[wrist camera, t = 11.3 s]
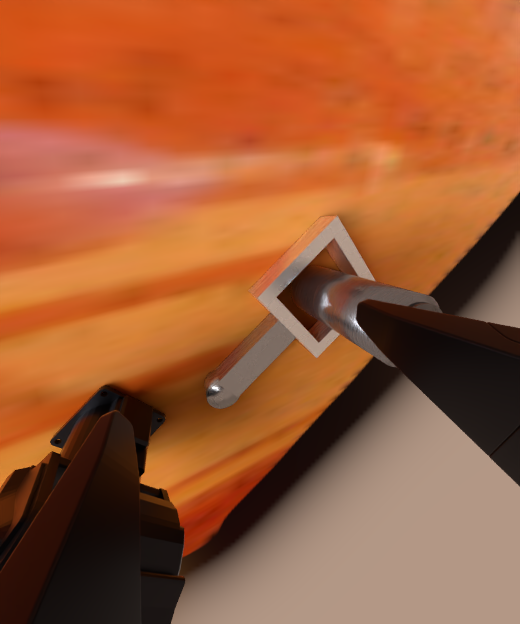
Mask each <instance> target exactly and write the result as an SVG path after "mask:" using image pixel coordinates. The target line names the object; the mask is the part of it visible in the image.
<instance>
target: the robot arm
mask: <svg viewBox="0 0 520 624" xmlns="http://www.w3.org/2000/svg"><path fill="white" fill-rule="evenodd" d="M356 321H357V323H358V325H359V326H360V327H361V328H362V330H363V331H364V332H365V333H366V334H367V336H368V337H369V338H370V339H371V340H372V341H373V343H374V344H375V345H376V346H377V347H378V349H379V350H380V351H381V352H382V353H383V354H384V355H385V356H386V357H387V358H388V359H389V360H390V361H391V362H392V363H393V364H394V365H395V366H396V367H397V368H398V369H399V370H400V371H401V372H402V373H403V374H404V375H405V376H406V377H408V378H409V379H410V380H411V381H412V382H413V383H414V384H415V385H416V386H417V387H418V388H419V389H420V390H421V391H422V392H423V393H424V394H425V395H426V396H427V397H428V398H429V399H430V400H431V401H432V402H433V403H434V404H435V405H436V406H438V408H440V409H441V410H442V411H443V412H444V413H445V414H446V415H447V416H448V417H449V418H450V419H451V420H452V421H453V422H454V423H455V424H456V425H457V426H458V427H459V428H460V429H461V430H462V431H463V432H465V434H466V435H467V436H468V437H469V438H471V439H472V440H473V441H474V442H475V443H476V444H477V445H478V446H479V447H480V448H481V449H482V450H483V451H484V452H485V453H486V454H487V455H489V457H490V458H491V459H492V460H493V461H494V462H495V463H496V464H497V465H498V466H499V467H500V468H501V469H502V470H504V472H505V473H506V474H508V476H510V477H511V478H512V479H513V480H514V481H515V482H516V483H517V484H518V485H519V486H520V328H516V327H510V326H505V325H500V324H495V323H490V322H488V323H486V322H484V321H479V320H474V319H469V318H464V317H459V316H454V315H449V314H444V313H439V312H433V311H428V310H423V309H418V308H413V307H408V306H403V305H398V304H393V303H387V302H382V301H377V300H372V299H366V300H363V301H361V302H359V303H358V305H357V313H356ZM104 391H105V392H107V393H106V394H104V393H102V392H104ZM158 418H162V419H158ZM164 422H165V414H164V413H162V412H160V411H158V410H156V409H154V408H152V407H151V406H149V405H147V404H145V403H143V402H141V401H139V400H137V399H135V398H133V397H131V396H127V395H125V394H123V393H121V392H119V391H117V390H115V389H113V388H111V387H108V386H103V387H101V388H99V389H98V390H97V391H96V392H95V393H94V395H93V396H92V397H91V398H90V399H89V400H88V401H87V402H86V403H85V404H84V405H83V406H82V407H81V408H80V409H79V410H78V411H77V412H76V413H75V414H74V415H73V416H72V417H71V418H70V419H69V420H68V421H67V422H66V423H65V424H64V425H63V426H62V427H61V429H60V430H59V431H58V432H57V433H56V434H55V435H54V436H53V438H52V439H51V441H50V443H51V445H53V446H56V447H59V448H62V451H61V453H60V454H58V453H55V452H53V451H52V452H51V453H50V454H48V455H47V456H46V457H45V458H44V459H43V460H42V461H41V462H40V463H39V464H38V465H37V466H34V465H32V466H31V467H28V468H23V469H18V470H15V471H14V472H13V473H12V474H11V475H9V476H8V477H7V479H6V480H5V482H4V483H3V485H2V486H1V488H0V624H171V620H172V617H173V614H174V610H175V607H176V604H177V602H178V599H179V597H180V594H181V592H182V589H183V587H184V584H185V578H184V577H182V576H178V575H179V571H180V566H181V560H182V554H183V548H184V528H183V527H181V526H180V522H179V518H178V513H177V509H176V508H175V507H174V505H173V504H172V502H170V500H169V497H168V493H167V491H166V490H164V489H161V488H160V489H156V488H153V487H150V486H147V485H144V484H141V483H140V482H141V475H142V474H143V473H144V472H145V464H146V455H147V447H148V446H149V441H150V436H151V435H152V434H153V433H154V432H155V431H156V430H157V429H158V428H159V427H160V426H161V425H162V424H163V423H164ZM57 439H60V440H57Z"/></svg>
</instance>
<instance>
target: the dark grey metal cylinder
mask: <svg viewBox="0 0 520 624" xmlns="http://www.w3.org/2000/svg"><path fill="white" fill-rule="evenodd" d="M290 293H291V298H292V301H293V303H294V304H295V305H296V306H297V307H299V308H300V309H302V310H303V311H305V312H306V313H308V314H309V315H311V316H312V317H314V318H316V319H317V320H319V321H320V322H322V323H323V324H325V325H326V326H328V327H330V328H331V329H333V330H334V331H336V332H337V333H339V334H340V335H342V336H344V337H345V338H347V339H348V340H350V341H351V342H353V343H354V344H356V345H358V346H359V347H361V348H362V349H364V350H365V351H367V352H368V353H370V354H372V355H373V356H375V357H376V358H378V359H379V360H381V361H383V362H384V363H386V364H387V365H389V366H392V367H396V366H395V365H394V364H393V363H392V362H391V361H390V360H389V359H388V358H387V357H386V356H385V355H384V354H383V353H382V352H381V351H380V350H379V349H378V347H377V346H376V345H375V344H374V343H373V341H372V340H371V339H370V338H369V337H368V336H367V334H366V333H365V332H364V331H363V330H362V328H361V327H360V326H359V325H358V323H357V321H356V313H357V305H358V303H359V302H361V301H363V300H366V299H372V300H377V301H382V302H387V303H393V304H398V305H403V306H408V307H413V308H418V309H423V310H428V311H433V312H439V313H442V311H441V310H440V308H439V306H438V304H437V302H436V300H435V299H434V298H432V297H430V296H428V295H425V294H421V293H417V292H413V291H410V290H406V289H402V288H399V287H395V286H391V285H387V284H384V283H380V282H376V281H372V280H369V279H365V278H361V277H358V276H354V275H350V274H346V273H343V272H339V271H335V270H332V269H328V268H324V267H320V266H316V265H312V266H307V267H305V268H304V269H303V270H302V271H301V272H300V273H299V274H298V275H297V276H296V277H295V278H294V279H293V281H292V284H291V290H290Z"/></svg>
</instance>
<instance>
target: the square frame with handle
mask: <svg viewBox="0 0 520 624" xmlns="http://www.w3.org/2000/svg"><path fill="white" fill-rule="evenodd" d="M324 248H326V250H327V251H328V253H329V254H330V256H331V257H332V259H333V260H334V262H335V263H336V265H337V266H338V268H339V269H340V270H341V272H343V273H346V274H350V275H354V276H358V277H361V278H365V279H369V280H372V281H375V279H374V277H373V276H372V274H371V272H370V270H369V269H368V267H367V265H366V264H365V262H364V260H363V259H362V257H361V255H360V253H359V252H358V250H357V248H356V247H355V245H354V243H353V241H352V240H351V238H350V236H349V235H348V233H347V231H346V230H345V228H344V226H343V224H342V223H341V221H340V219H339V218H338V216H326V217H319V218H318V220H317V221H316V222H315V223H314V224H313V225H312V226H311V227H310V228H309V229H308V230H307V231H306V232H305V233H304V234H303V235H302V236H301V237H300V238H299V239H298V240H297V241H296V242H295V243H294V244H293V245H292V246H291V247H290V248H289V249H288V250H287V251H286V252H285V253H284V255H283V256H282V257H281V258H280V259H279V260H278V261H277V262H276V263H275V264H274V265H273V266H272V267H271V268H270V269H269V270H268V271H267V272H266V273H265V274H264V275H263V276H262V277H261V278H260V279H259V280H258V281H257V282H256V283H255V284H254V285H253V286H252V287H251V288H250V289H249V292H250V293H251V294H252V295H253V296H254V297H255V298H256V299H257V300H258V301H259V302H260V303H261V304H262V305H263V306H264V307H265V308H266V309H267V310H268V311H269V312H270V314H269V315H268V316H267V317H266V318H265V319H264V320H263V321H262V322H261V323H260V324H259V325H258V326H257V327H256V328H255V329H254V330H253V331H252V332H251V333H250V334H249V335H248V336H247V337H246V339H245V340H244V341H243V342H242V343H241V344H240V345H239V346H238V347H237V348H236V349H235V350H234V351H233V352H232V353H231V354H230V355H229V356H228V357H227V358H226V359H225V360H224V361H223V362H222V363H221V364H220V365H219V366H218V367H217V368H216V369H215V370H213V371H212V372H210V373H209V374H208V375H207V377H206V378H205V381H204V387H205V392H206V397H207V401H208V403H209V405H211V406H212V407H214V408H218V409H222V408H227V407H229V406H231V405H233V404H234V403H235V402H236V401H237V400H238V399H239V397H240V395H241V394H242V393H243V392H244V391H245V390H246V389H247V388H248V387H249V385H250V384H251V383H252V382H253V381H254V380H255V379H256V378H257V377H258V376H259V375H260V374H261V373H262V372H263V371H264V370H265V369H266V368H267V367H268V366H269V365H270V364H271V363H272V362H273V361H274V360H275V359H276V358H277V357H278V356H279V355H280V354H281V353H282V352H283V351H284V350H285V348H286V347H287V346H288V345H289V344H290V343H291V342H292V341H293V340H294V339H295V338H296V339H297V340H298V341H299V342H300V343H301V344H302V345H303V346H304V347H305V348H306V349H307V350H308V351H309V352H311V353H312V354H313V355H314V356H315V357H316V358H317V357H318V356H319V355H320V354H321V353H322V352H323V351H324V350H325V349H326V348H327V347H328V346H329V345H330V344H331V343H332V342H333V341H334V340H335V339H336V338H337V337H338V336H339V335H340V334H339V333H337V332H336V331H334V330H333V329H331V328H330V327H328V326H326V325H325V324H323V323H322V322H320V321H319V320H318V321H317V322H316V323H315V324H314V325H313V326H312V327H311V328H310V329H309V330H308V331H307V330H306V329H305V328H304V326H303V325H302V324H301V323H300V322H299V321H298V320H297V319H296V318H295V317H294V316H293V315H292V314H291V313H290V311H289V310H288V309H287V308H286V307H285V306H284V305H283V304H282V303H281V302H280V301H279V300H278V299H277V296H278V295H279V294H280V293H281V292H282V291H283V290H284V289H285V288H286V287H287V286H288V285H289V284H290V282H291V281H292V280H293V279H294V278H295V277H296V276H297V275H298V274H299V273H300V272H301V271H302V270H303V269H304V268H305V267H306V266H307V265H308V264H309V263H310V262H311V261H312V260H313V259H314V258H315V257H316V256H317V255H318V254H319V253H320V252H321V251H322V250H323V249H324Z"/></svg>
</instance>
